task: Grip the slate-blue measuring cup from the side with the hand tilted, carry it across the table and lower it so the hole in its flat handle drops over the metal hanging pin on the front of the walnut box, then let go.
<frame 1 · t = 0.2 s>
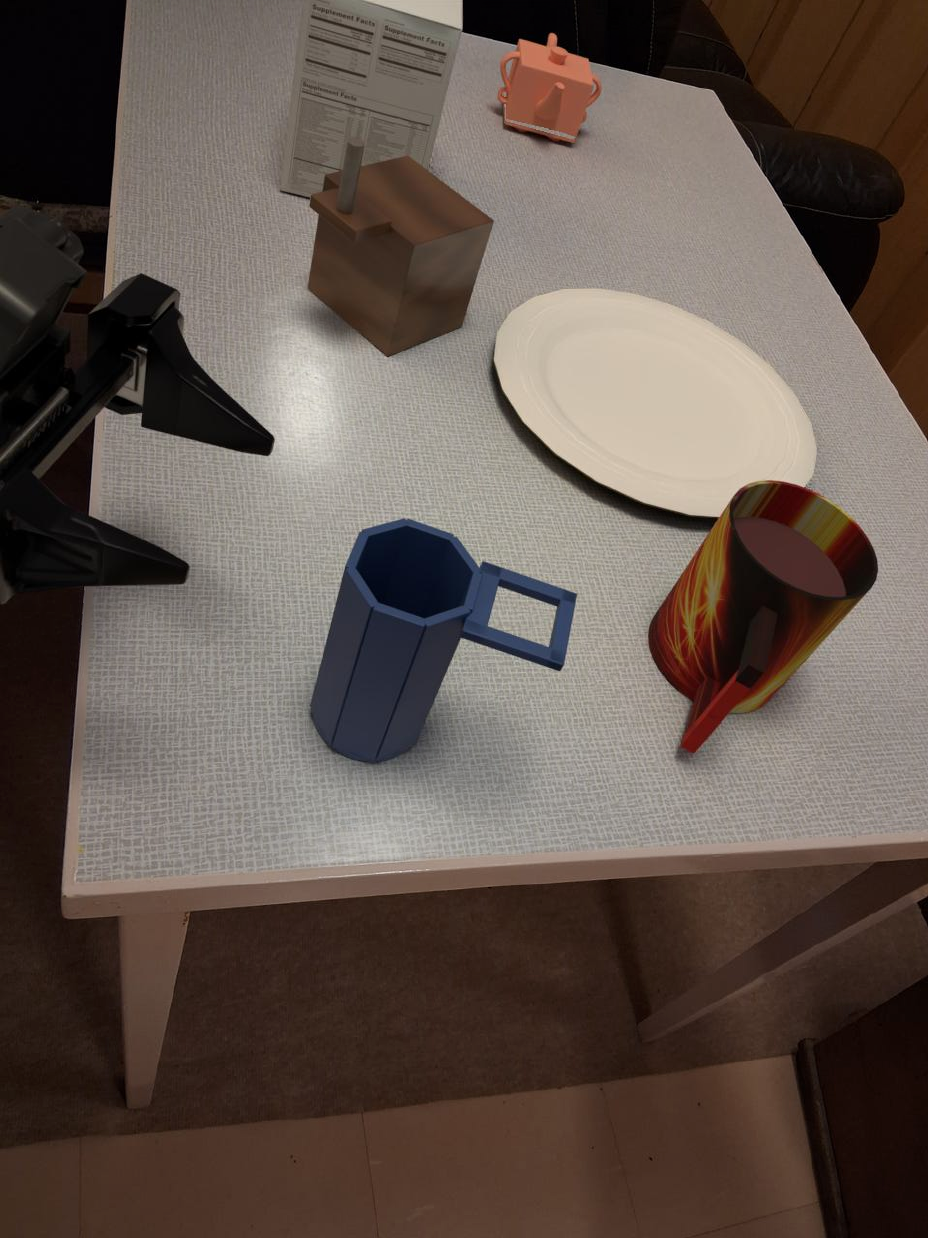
hand: (233, 506, 44), 14 cm above the table, tool horizontal, fingers open, 9 cm apart
plate: (649, 409, 83), on the table
mug: (718, 681, 65), on the table
measuring cup: (367, 713, 56), on the table
supplement box: (353, 177, 94), on the table
teapot: (535, 126, 112), on the table
hook box: (385, 307, 81), on the table
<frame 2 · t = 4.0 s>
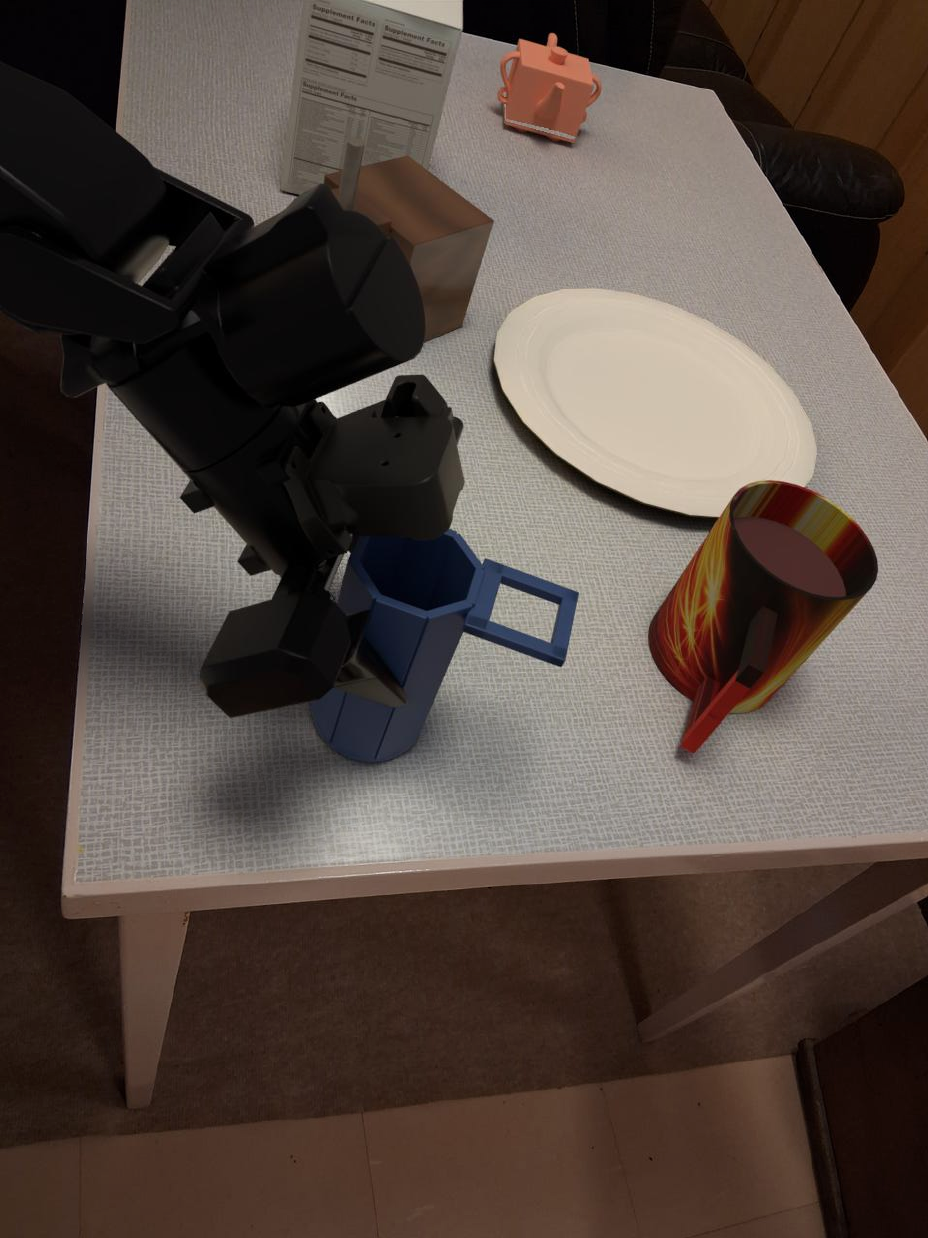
hand: (416, 654, 51), 7 cm above the table, tool tilted 45°, fingers closed on measuring cup, 6 cm apart
measuring cup: (366, 714, 56), on the table, touching gripper
everything else where it was.
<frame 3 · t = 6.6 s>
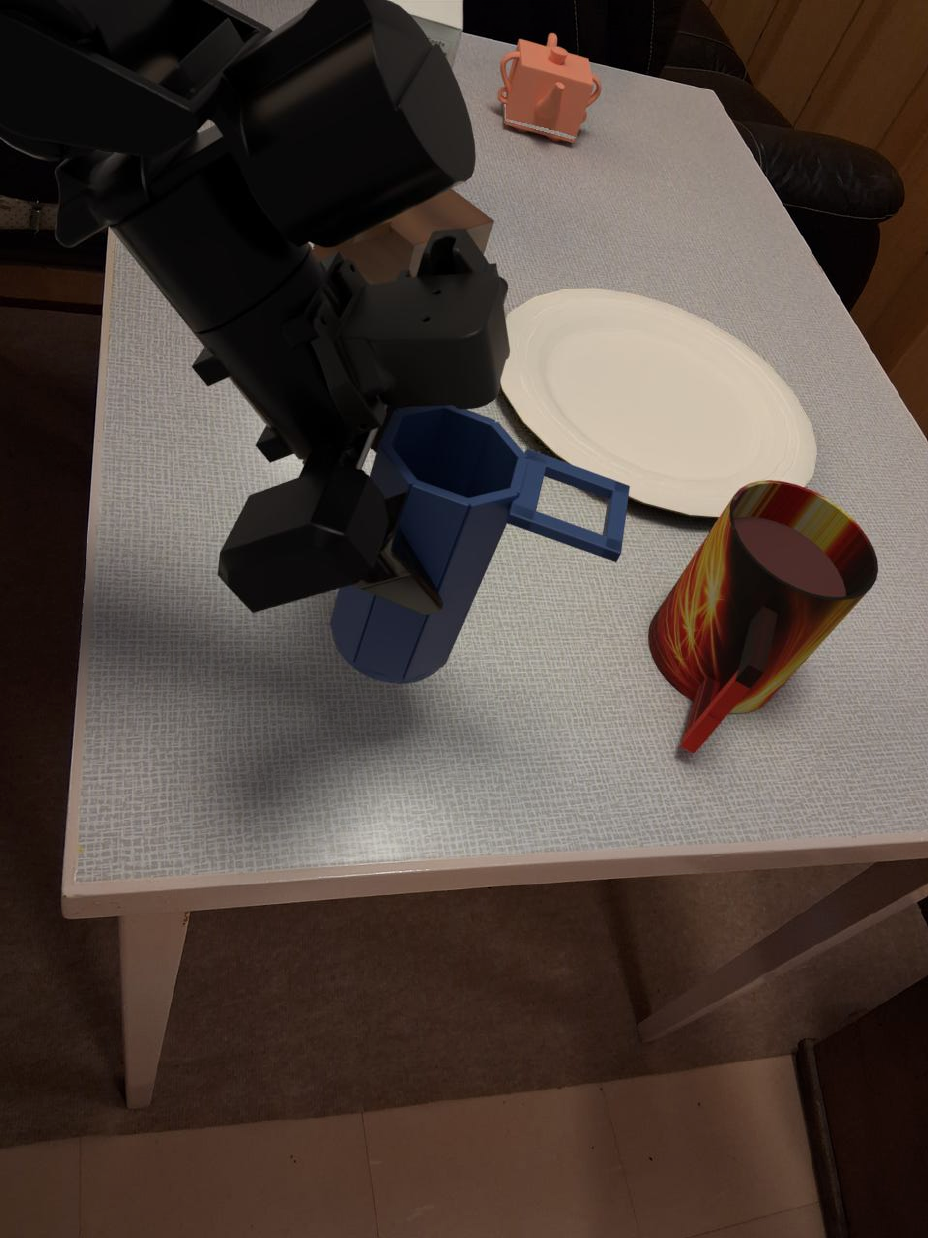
hand: (448, 560, 46), 13 cm above the table, tool tilted 45°, fingers closed on measuring cup, 6 cm apart
measuring cup: (390, 635, 51), point 7 cm above the table, touching gripper
everything else where it was.
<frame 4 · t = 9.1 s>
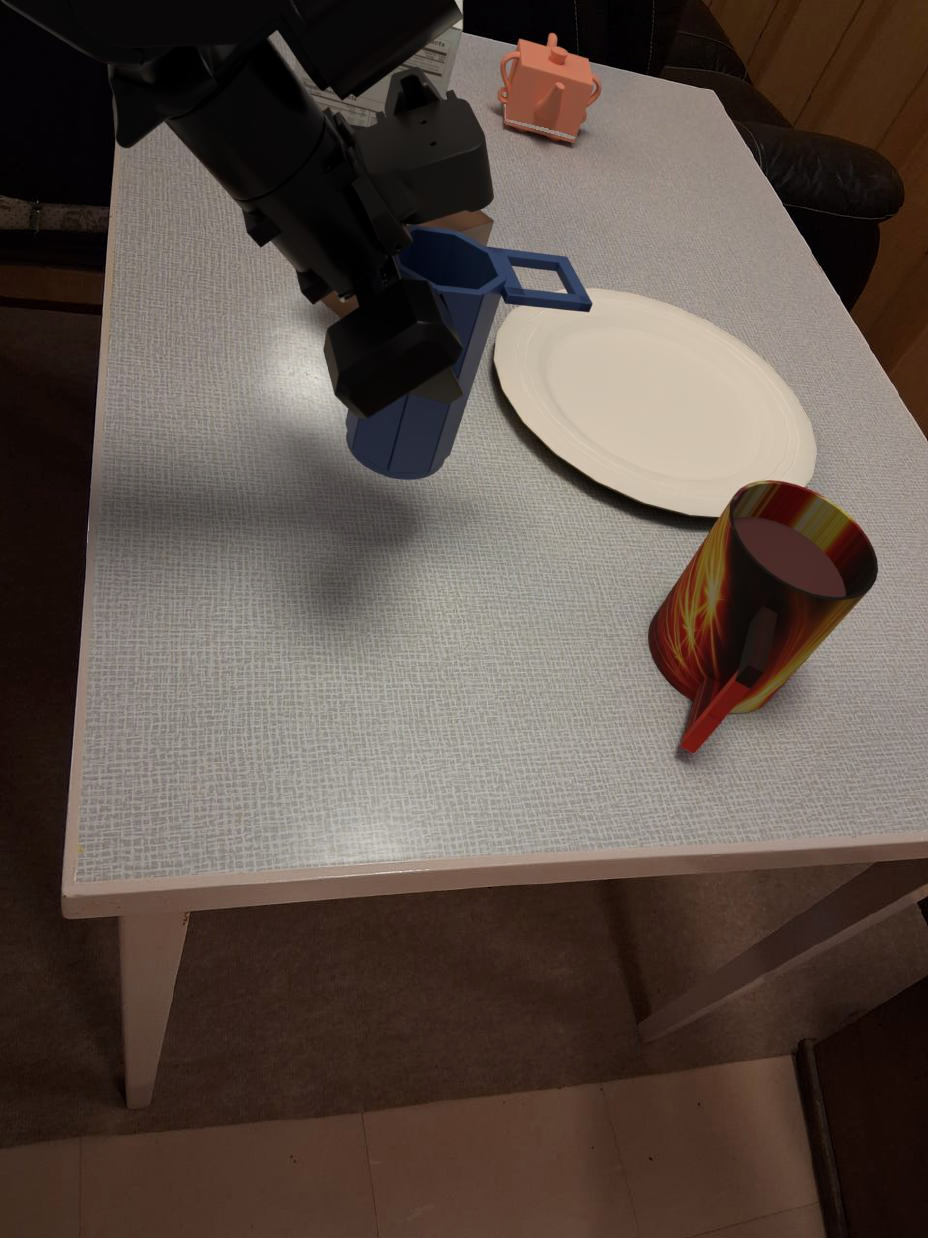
hand: (442, 359, 56), 13 cm above the table, tool tilted 45°, fingers closed on measuring cup, 6 cm apart
measuring cup: (396, 445, 61), point 7 cm above the table, touching gripper
everything else where it was.
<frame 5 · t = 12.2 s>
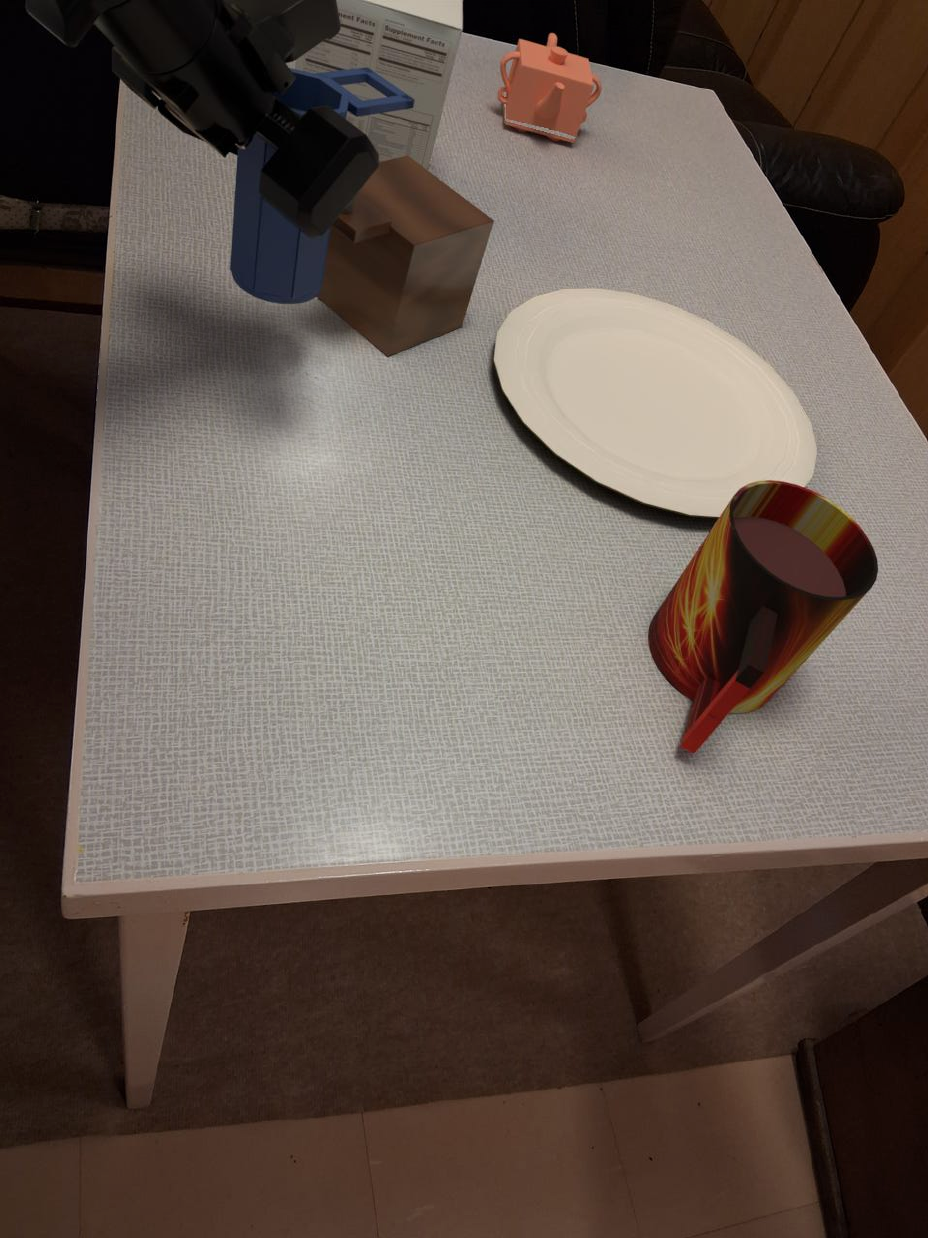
hand: (303, 186, 65), 13 cm above the table, tool tilted 45°, fingers closed on measuring cup, 6 cm apart
measuring cup: (277, 278, 69), point 7 cm above the table, touching gripper
everything else where it was.
when the fingers open (7 cm above the table, at t = 14.6 s): measuring cup stays where it is, on the table.
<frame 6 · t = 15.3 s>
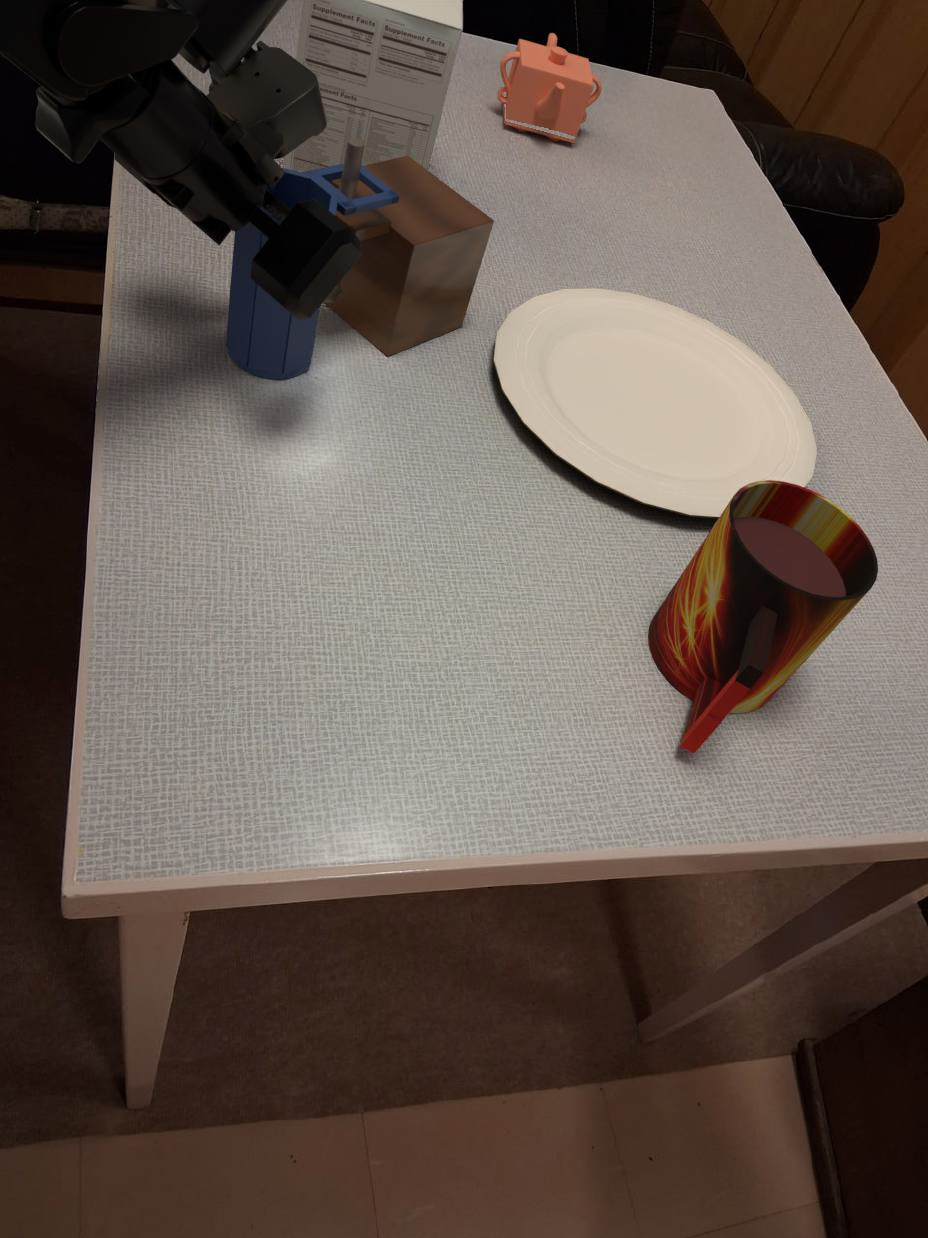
hand: (293, 259, 69), 7 cm above the table, tool tilted 45°, fingers open, 9 cm apart
measuring cup: (269, 352, 74), on the table
everything else where it was.
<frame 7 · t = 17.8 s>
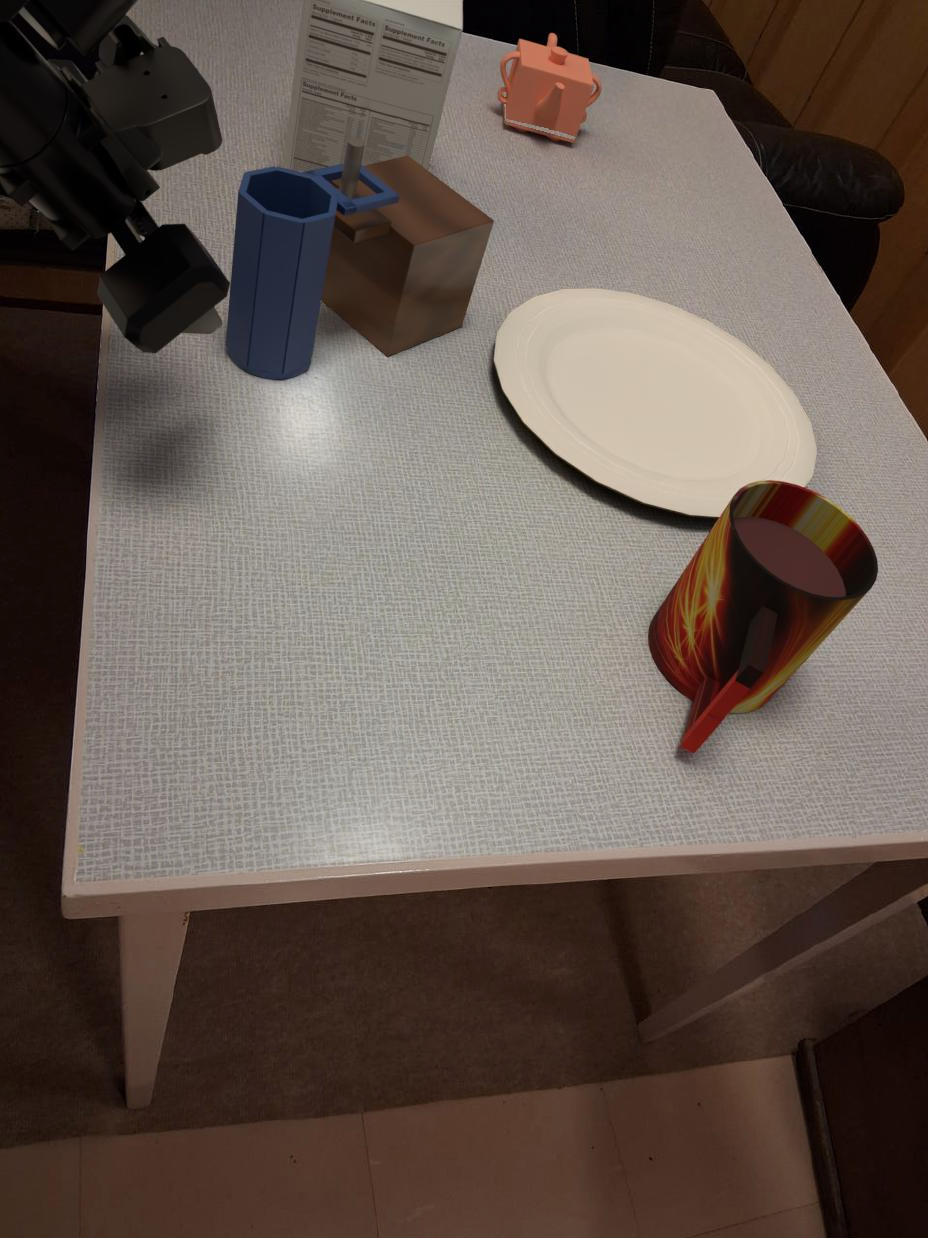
hand: (182, 278, 62), 9 cm above the table, tool tilted 40°, fingers open, 9 cm apart
nothing on the table moved.
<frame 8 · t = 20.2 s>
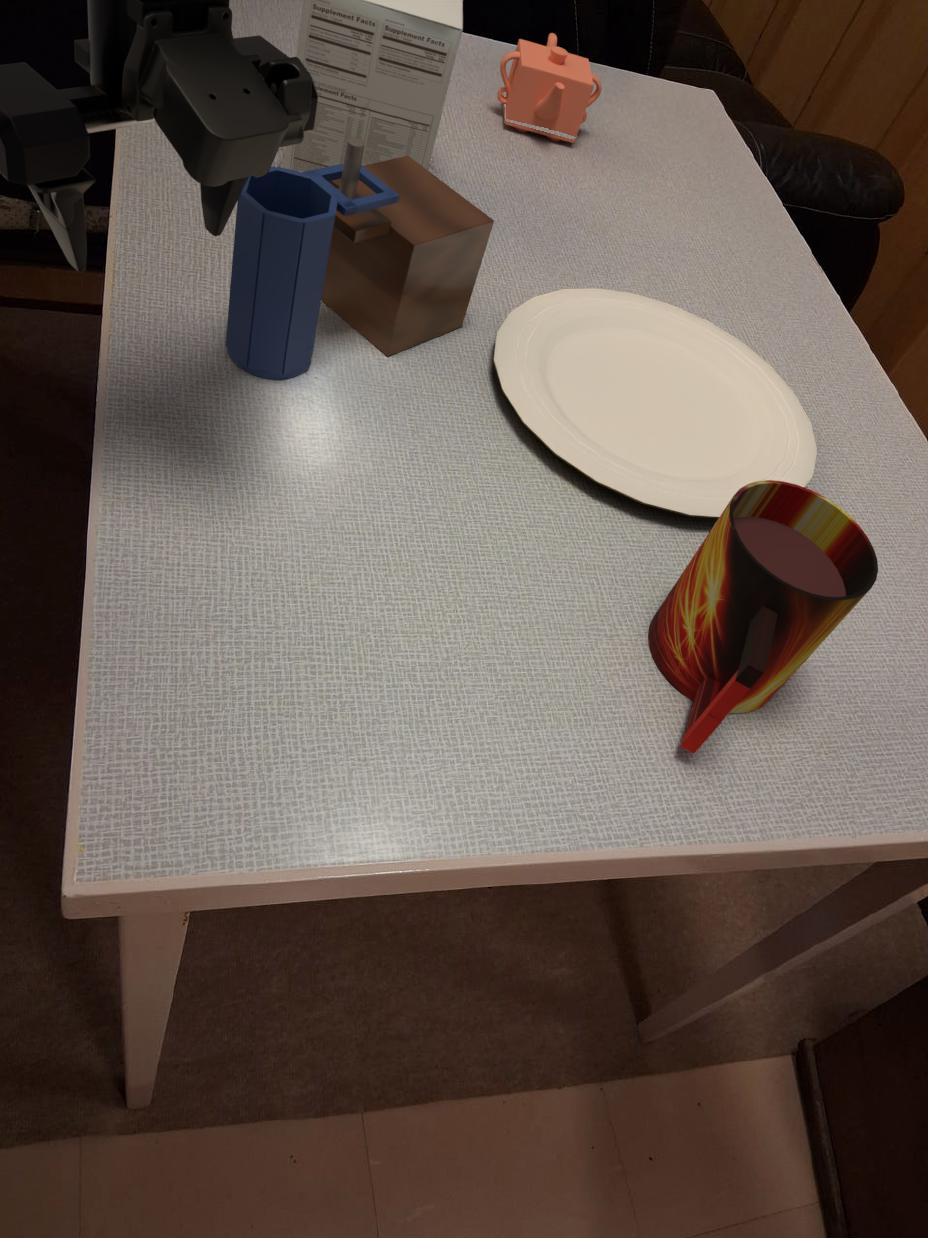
hand: (148, 249, 56), 13 cm above the table, tool pointing down, fingers open, 9 cm apart
nothing on the table moved.
at the end: measuring cup 0.3 cm from the target spot on the table beside the hook box, on the table; measuring cup tilted 0°; the gripper is holding nothing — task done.
